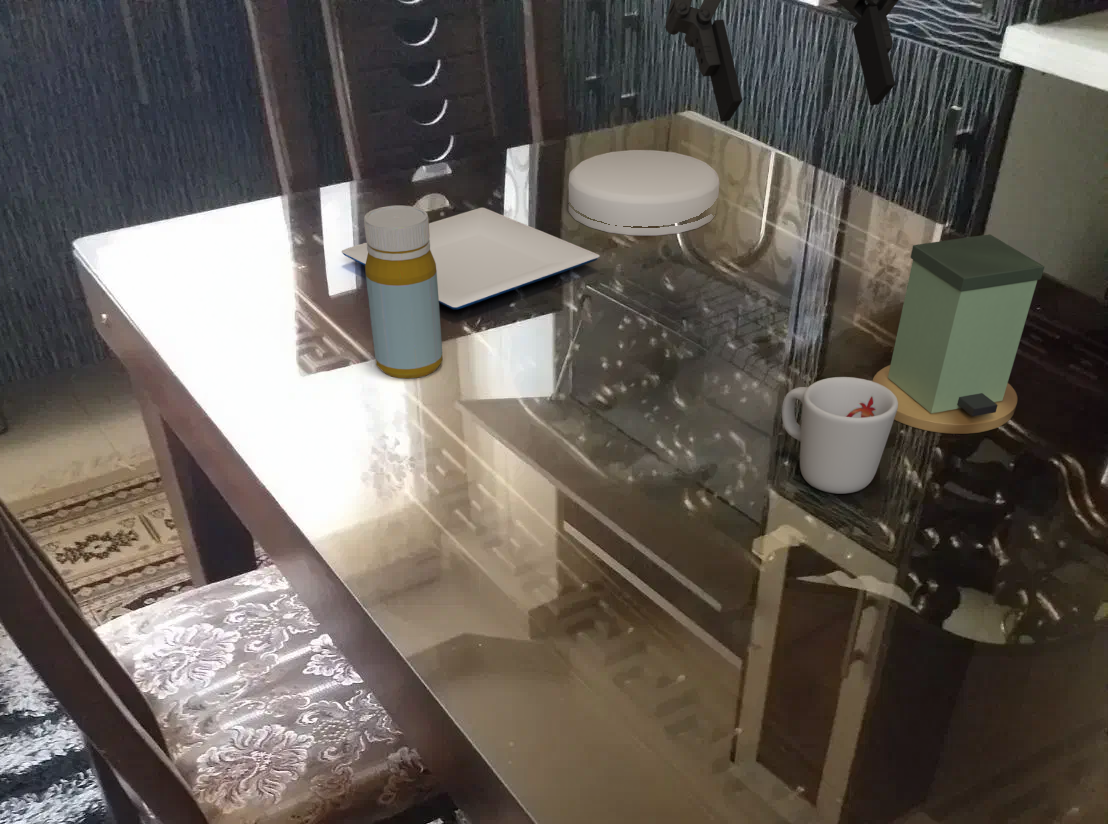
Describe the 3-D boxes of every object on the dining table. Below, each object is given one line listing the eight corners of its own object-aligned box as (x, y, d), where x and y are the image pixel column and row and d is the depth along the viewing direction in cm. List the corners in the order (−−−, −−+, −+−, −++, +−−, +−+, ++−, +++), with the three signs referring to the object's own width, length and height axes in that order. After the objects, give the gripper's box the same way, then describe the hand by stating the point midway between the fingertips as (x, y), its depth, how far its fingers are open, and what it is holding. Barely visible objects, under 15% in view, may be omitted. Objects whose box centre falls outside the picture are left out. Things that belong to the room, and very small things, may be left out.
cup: (749, 465, 105) (759, 383, 100) (806, 437, 109) (820, 356, 103) (841, 513, 99) (857, 429, 94) (898, 482, 103) (918, 399, 97)
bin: (884, 377, 116) (912, 244, 107) (956, 365, 117) (990, 233, 108) (944, 426, 108) (979, 288, 99) (1020, 412, 110) (1061, 276, 101)
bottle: (454, 358, 122) (445, 209, 111) (422, 385, 117) (409, 233, 107) (397, 346, 124) (383, 199, 113) (363, 373, 119) (345, 223, 109)
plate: (341, 266, 140) (339, 249, 138) (483, 222, 151) (482, 205, 149) (455, 324, 128) (454, 305, 126) (601, 271, 138) (601, 253, 137)
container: (644, 248, 144) (646, 209, 141) (537, 207, 154) (536, 170, 151) (748, 209, 153) (752, 172, 150) (640, 174, 164) (642, 138, 161)
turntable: (978, 363, 120) (981, 354, 119) (1039, 427, 110) (1042, 418, 109) (850, 373, 119) (852, 363, 118) (900, 439, 109) (902, 429, 108)
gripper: (862, -125, 99) (918, 115, 99) (590, -110, 93) (650, 145, 93) (908, -200, 91) (969, 60, 92) (616, -188, 86) (681, 89, 86)
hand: (808, 103), depth 92 cm, fingers open, 13 cm apart
